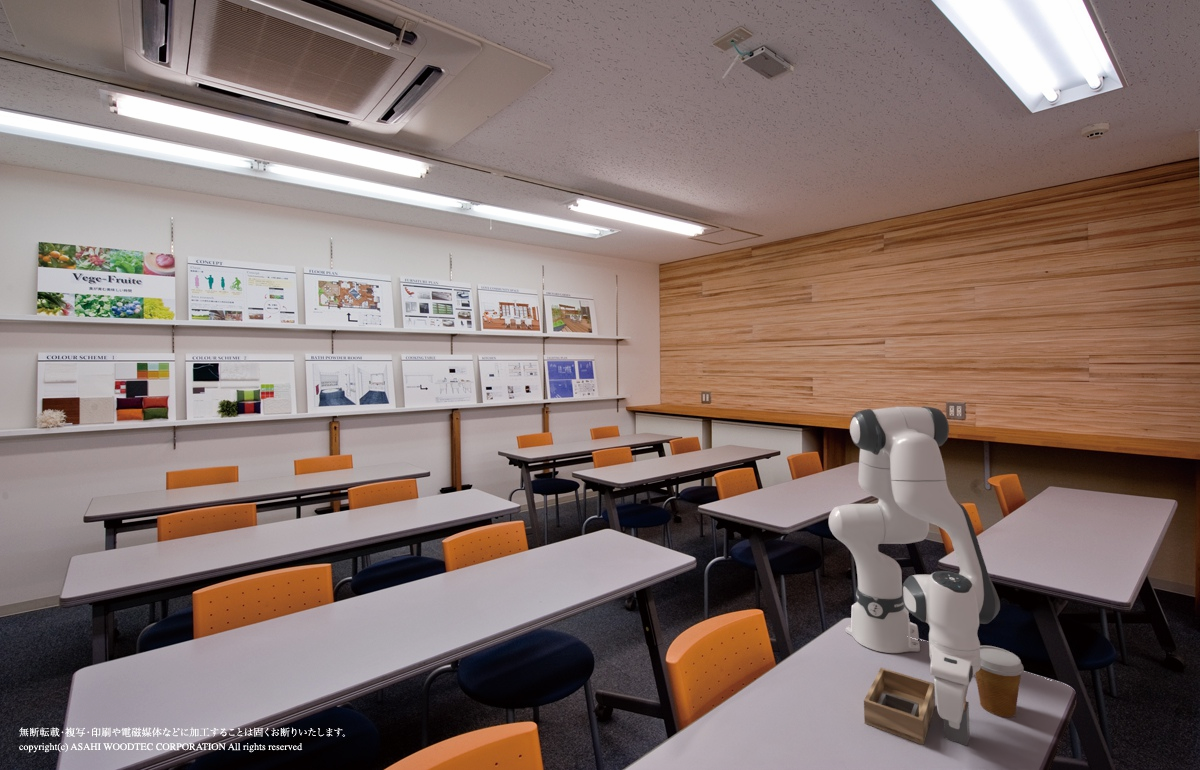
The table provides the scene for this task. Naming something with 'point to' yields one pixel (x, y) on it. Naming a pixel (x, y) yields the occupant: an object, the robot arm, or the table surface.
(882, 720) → the box
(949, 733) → the block
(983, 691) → the disposable coffee cup
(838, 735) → the table surface
